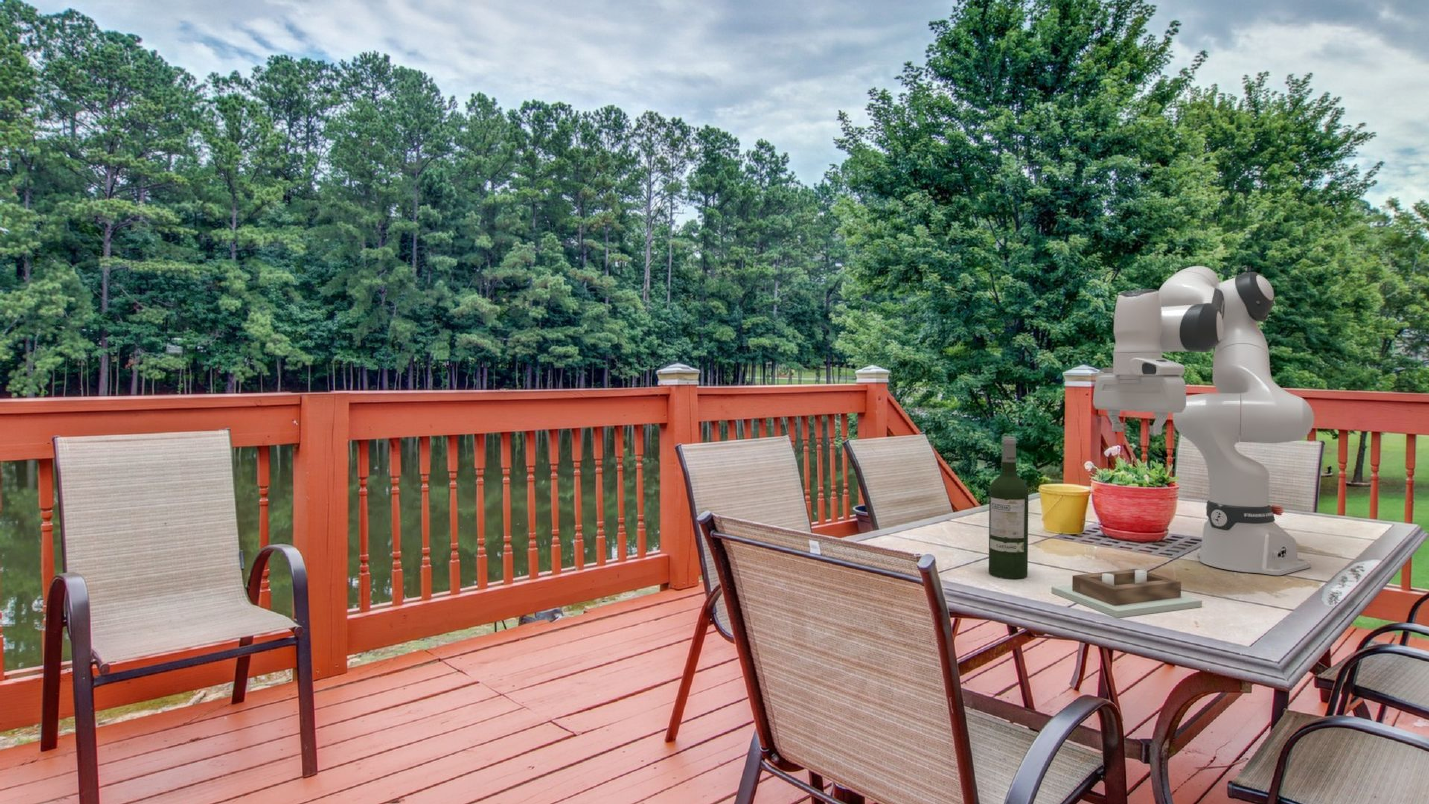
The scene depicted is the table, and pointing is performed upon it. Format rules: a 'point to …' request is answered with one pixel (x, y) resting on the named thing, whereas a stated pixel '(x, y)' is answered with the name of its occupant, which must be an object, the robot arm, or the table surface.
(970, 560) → the table surface
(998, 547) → the wine bottle
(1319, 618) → the table surface
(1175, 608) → the board
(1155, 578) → the frame
